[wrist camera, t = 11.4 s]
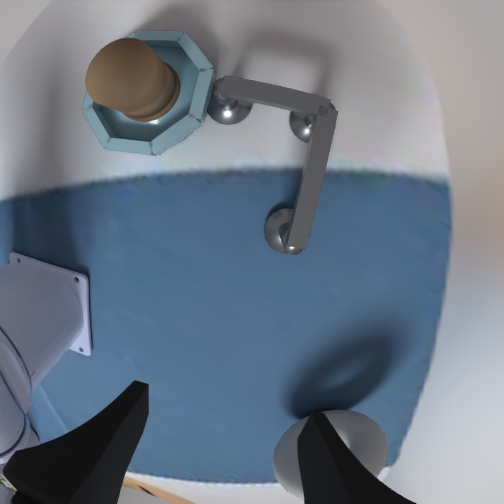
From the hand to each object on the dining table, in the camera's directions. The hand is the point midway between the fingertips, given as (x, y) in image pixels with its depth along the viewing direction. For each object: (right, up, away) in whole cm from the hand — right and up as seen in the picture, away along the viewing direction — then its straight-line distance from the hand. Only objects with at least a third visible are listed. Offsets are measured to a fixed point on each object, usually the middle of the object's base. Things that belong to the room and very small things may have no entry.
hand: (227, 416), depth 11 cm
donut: (+8, -9, +13) cm, 18 cm away
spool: (-6, +18, +5) cm, 19 cm away
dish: (-6, +18, +6) cm, 20 cm away
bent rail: (+2, +13, +7) cm, 15 cm away
